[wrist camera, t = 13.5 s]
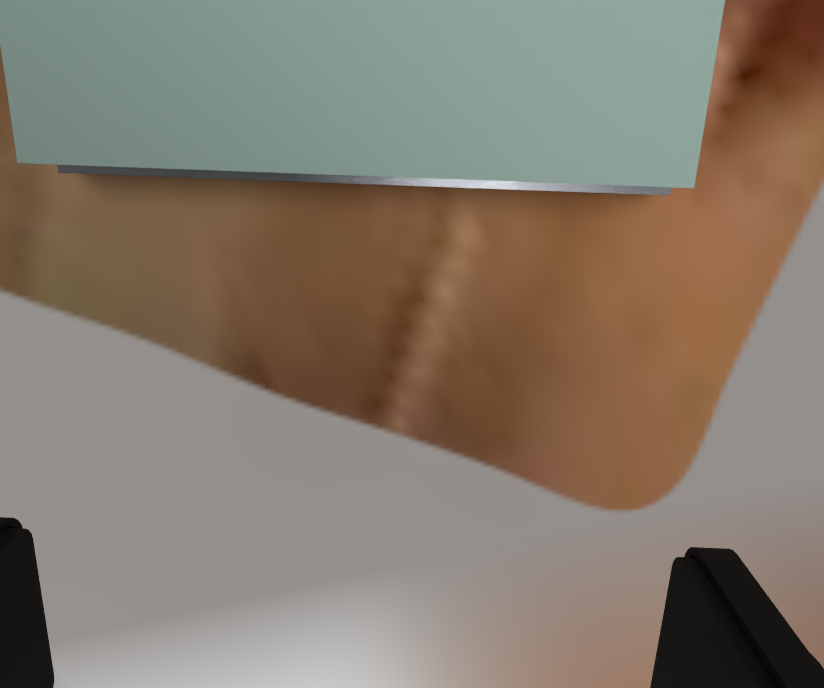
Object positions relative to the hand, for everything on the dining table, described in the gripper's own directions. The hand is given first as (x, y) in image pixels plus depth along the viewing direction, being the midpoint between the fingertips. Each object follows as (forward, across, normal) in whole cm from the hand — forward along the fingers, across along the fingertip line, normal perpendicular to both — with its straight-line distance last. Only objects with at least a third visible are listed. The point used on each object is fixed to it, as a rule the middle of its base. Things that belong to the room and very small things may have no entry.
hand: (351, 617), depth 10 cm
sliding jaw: (+9, +1, -8) cm, 12 cm away
